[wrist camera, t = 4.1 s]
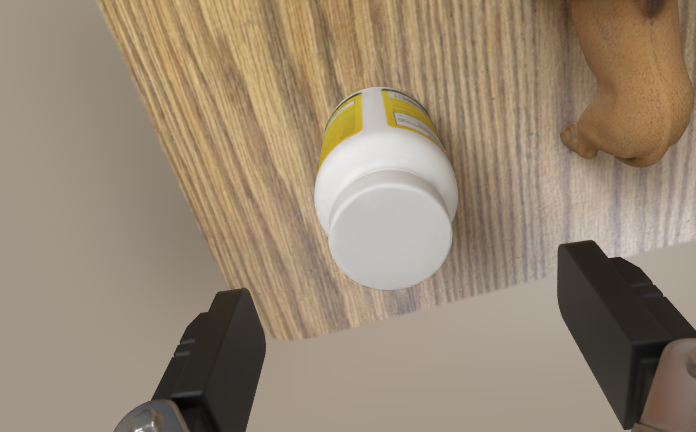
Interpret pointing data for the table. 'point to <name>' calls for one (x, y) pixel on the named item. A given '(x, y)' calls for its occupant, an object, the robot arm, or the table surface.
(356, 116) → the supplement bottle
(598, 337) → the robot arm
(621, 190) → the table surface
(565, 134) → the lion figurine
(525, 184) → the table surface
